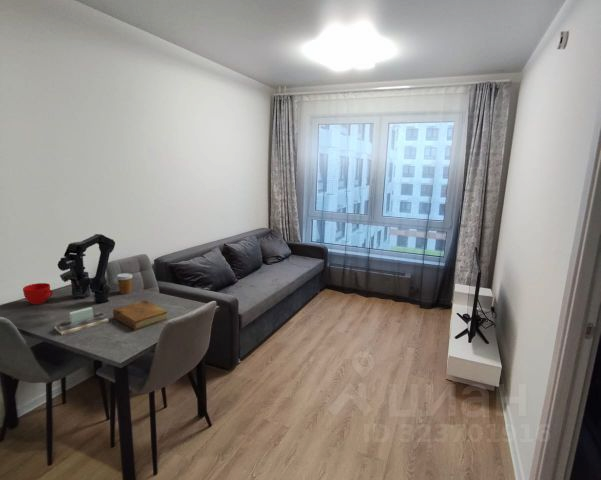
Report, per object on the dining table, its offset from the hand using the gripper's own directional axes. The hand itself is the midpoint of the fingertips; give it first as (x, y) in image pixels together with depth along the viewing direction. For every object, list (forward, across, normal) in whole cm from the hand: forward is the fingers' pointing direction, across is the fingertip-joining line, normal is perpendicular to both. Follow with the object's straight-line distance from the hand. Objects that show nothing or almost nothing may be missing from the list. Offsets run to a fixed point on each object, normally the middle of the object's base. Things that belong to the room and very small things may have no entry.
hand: (80, 292), depth 198 cm
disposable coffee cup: (+12, -14, +31) cm, 36 cm away
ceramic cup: (+12, -30, -11) cm, 34 cm away
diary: (+13, +32, +18) cm, 39 cm away
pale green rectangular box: (+11, +18, -6) cm, 22 cm away
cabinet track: (+12, +18, -6) cm, 22 cm away
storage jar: (+12, -25, +9) cm, 29 cm away
